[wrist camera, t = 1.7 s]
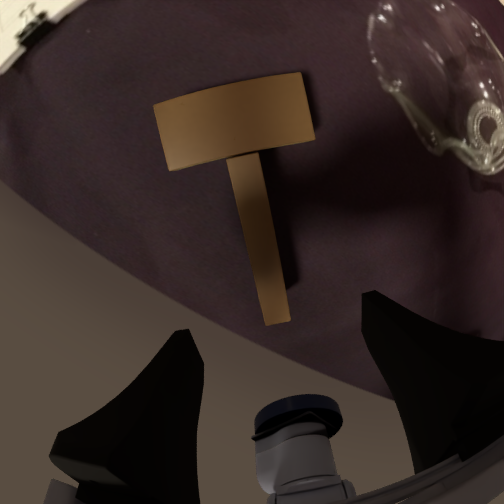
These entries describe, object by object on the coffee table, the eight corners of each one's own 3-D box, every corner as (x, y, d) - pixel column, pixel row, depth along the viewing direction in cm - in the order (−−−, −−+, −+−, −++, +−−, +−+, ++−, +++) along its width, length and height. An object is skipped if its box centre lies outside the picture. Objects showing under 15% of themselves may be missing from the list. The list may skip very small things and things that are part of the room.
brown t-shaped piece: (221, 305, 20) (218, 334, 17) (167, 109, 15) (150, 103, 12) (324, 283, 20) (338, 310, 17) (291, 82, 15) (302, 69, 11)
